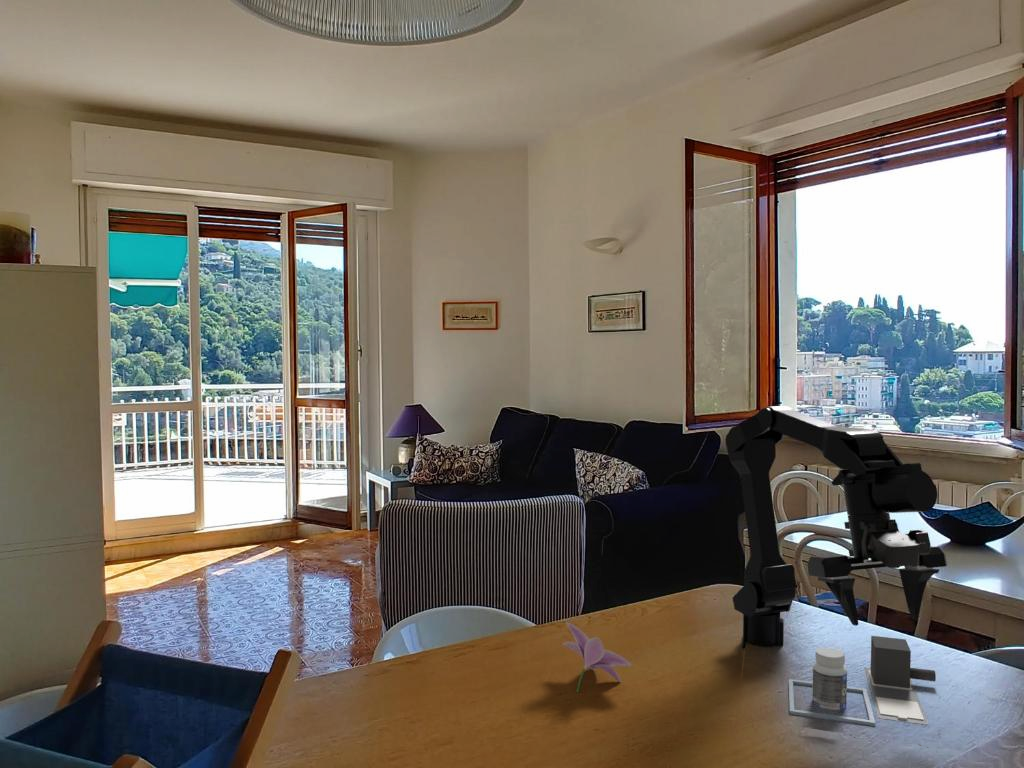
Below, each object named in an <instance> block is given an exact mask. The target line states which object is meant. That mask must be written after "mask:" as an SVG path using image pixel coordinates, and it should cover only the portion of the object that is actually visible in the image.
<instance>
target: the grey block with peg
mask: <svg viewBox="0 0 1024 768" xmlns="http://www.w3.org/2000/svg"><path fill="white" fill-rule="evenodd" d="M870 647H871V648H870V669H871V675H872V678H873V682H874V684H878V685H886V686H894V687H902V688H910V678H911V680H920V681H926V682H927V681H928V682H936V679H937V678H936V677H937V676H936V674H937V673H936V671H935V670H934V669H933V670H931V669H923V668H917V667H911V661H912V660H911V658H912V655H911V653H912V651H911V649H910V646H909V644H908V642H907V639H906V638H905V639H904V638H897V637H895V638H894V637H886V636H879V635H878V636H877V635H871V636H870Z"/></svg>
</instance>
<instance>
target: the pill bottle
mask: <svg viewBox="0 0 1024 768" xmlns="http://www.w3.org/2000/svg"><path fill="white" fill-rule="evenodd" d="M845 656H846V655H845V653H844V652H843V651H842V650H841V649H838V648H835V647H834V648H833V647H819V648H816V650H815V662H813V665H812V682H813V686H812V688H811V689H812V690H811V691H812V692H811V693H812V696H811V700H812V703H813V704H814V705H815V706H817V707H820V709H821V708H822V709H824V710H830V711H841V710H844V709H846V708H847V697H848V696H847V692H848V691H847V687H848V669H847V667H846V665H845V662H846V661H845V660H846V657H845Z"/></svg>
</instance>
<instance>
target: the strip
mask: <svg viewBox="0 0 1024 768" xmlns="http://www.w3.org/2000/svg"><path fill="white" fill-rule="evenodd" d="M864 671H865V675H866V678H867V679H866V680H867V682H868V686H869V690H870V694H871V699H872V701H873V705H874V709H875V713H876V716H877V719H882V720H888V721H897V722H903V723H910V724H916V725H917V724H918V725H925V726H929V725H930V724H929V721H928V718H927V715H926V714H925V712H924V711H925V710H924V708H923V706H922V704H921V701H920V699H919V696H918V694H917V691H916V688H915V687H914V683H913V681H912V679H911V678H910V688H902V687H894V686H886V685H878V684H874V682H873V678H872V675H871V667H870V668H869V667H864Z"/></svg>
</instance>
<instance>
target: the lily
mask: <svg viewBox="0 0 1024 768" xmlns="http://www.w3.org/2000/svg"><path fill="white" fill-rule="evenodd" d="M564 623H565V624H566V625H567V627H568V628H569V630H570V632H571V634H572V636H573V637H574V641H575V642H574V641H566V642H565V641H564V642H563V643H562V645H563V646H565V647H567V648H569V649H570V650H572V651H574V652H576V653H578V654H579V655H581V657H582V659H583V662H584V667H583V669H582V671H581V674H580V677H579V679H578V680H579V681H578V682H577V688H576V690H575V692H577V693H579V689H580V686H581V682H582V680H583V679H582V678H583V676H584V674H585V671H586V669H587V668H589V669H590V670H592V671H594V670H595V671H596V670H598V669H602V670H603V671H604V672H605V673H607V674H609V676H611V677H612V678H614V680H616V681H617V682H619V683H621V682H622V681H621V678H620V677H619V675H618V673H617V671H616V670H615V669H614V667H621V666H622V667H631V666H633V665H632V663H631V662H629V661H628V660H627V659H626V658H624V656H623V657H622V656H621V655H619V654H617V653H616V652H614V651H612V650H608V649H605V648H604V645H603V642H602V640H601V639H600V638H599V637H596V636H595V637H591V638H589V636H587V634H586V633H585V632H584V631H583V630H581V629H580V628H579V627H577V626H575V625H574V624H573V623H570V622H568V621H566V620H565V622H564Z"/></svg>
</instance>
